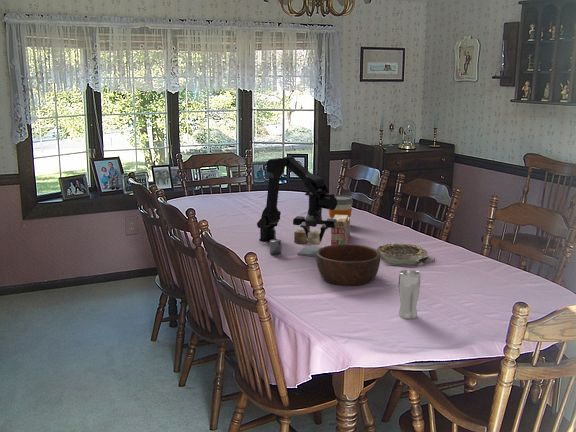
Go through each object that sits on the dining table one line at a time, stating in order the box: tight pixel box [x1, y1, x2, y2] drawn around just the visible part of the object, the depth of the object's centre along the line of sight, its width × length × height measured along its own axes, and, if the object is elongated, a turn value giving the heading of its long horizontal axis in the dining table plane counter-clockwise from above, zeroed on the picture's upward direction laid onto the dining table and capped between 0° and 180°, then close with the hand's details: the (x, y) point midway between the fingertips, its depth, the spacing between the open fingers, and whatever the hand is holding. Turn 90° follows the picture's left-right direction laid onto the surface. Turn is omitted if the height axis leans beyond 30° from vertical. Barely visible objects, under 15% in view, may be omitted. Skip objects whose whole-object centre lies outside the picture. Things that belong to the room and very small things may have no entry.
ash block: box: [307, 229, 323, 246], centre depth 276 cm, size 5×5×5 cm
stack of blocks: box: [330, 215, 351, 245], centre depth 296 cm, size 21×6×12 cm, turn 168°
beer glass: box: [398, 269, 421, 320], centre depth 205 cm, size 7×7×15 cm
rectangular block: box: [293, 229, 308, 244], centre depth 295 cm, size 5×5×5 cm
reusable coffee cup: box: [328, 194, 353, 219], centre depth 323 cm, size 13×13×15 cm
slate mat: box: [297, 245, 322, 258], centre depth 278 cm, size 12×12×1 cm
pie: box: [376, 243, 436, 268], centre depth 270 cm, size 28×27×5 cm
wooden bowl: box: [315, 243, 382, 287], centre depth 244 cm, size 25×25×10 cm
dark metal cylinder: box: [269, 238, 282, 256], centre depth 275 cm, size 5×5×6 cm
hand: (314, 240), depth 276 cm, fingers closed on ash block, 5 cm apart
